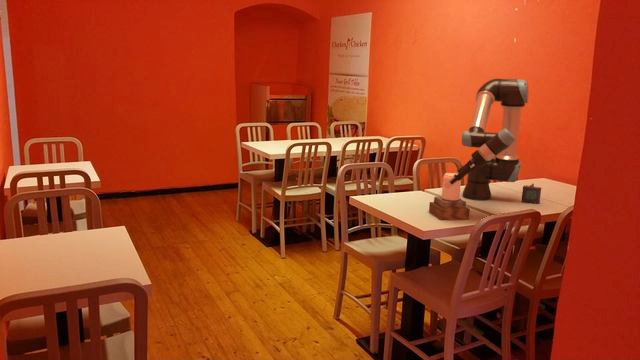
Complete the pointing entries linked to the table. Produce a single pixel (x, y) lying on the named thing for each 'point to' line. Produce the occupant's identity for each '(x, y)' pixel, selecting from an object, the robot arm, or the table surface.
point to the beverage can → (451, 188)
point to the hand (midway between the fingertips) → (446, 184)
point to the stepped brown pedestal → (449, 209)
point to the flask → (531, 194)
